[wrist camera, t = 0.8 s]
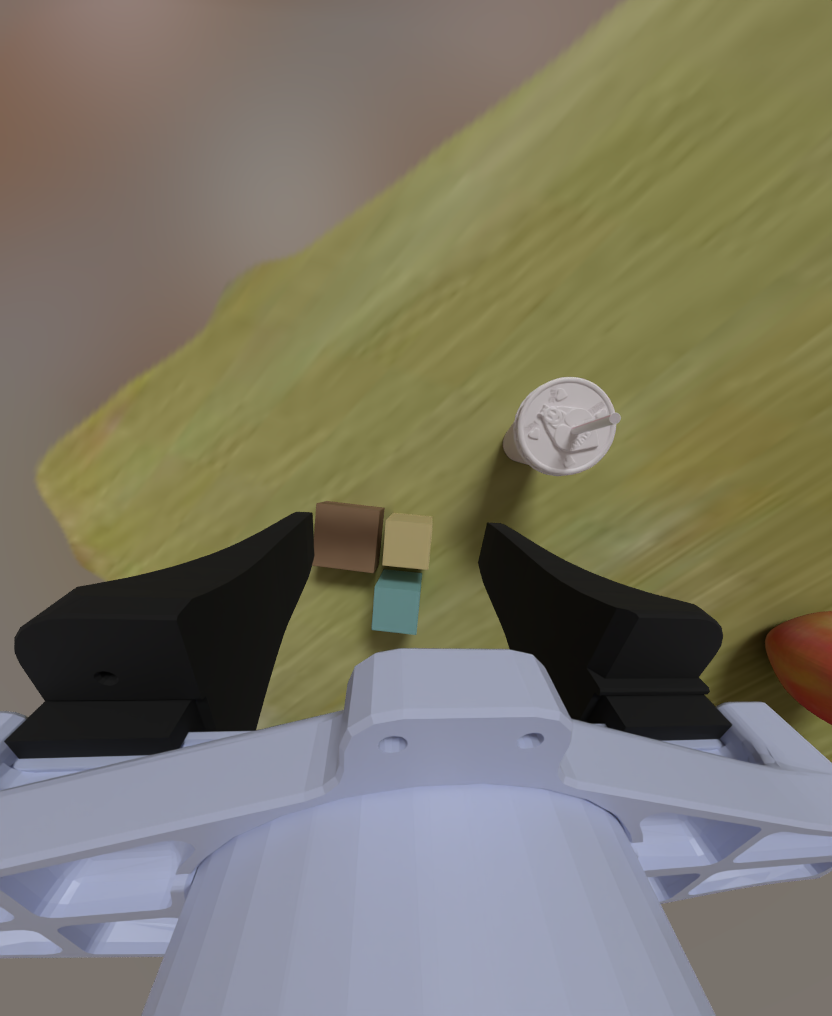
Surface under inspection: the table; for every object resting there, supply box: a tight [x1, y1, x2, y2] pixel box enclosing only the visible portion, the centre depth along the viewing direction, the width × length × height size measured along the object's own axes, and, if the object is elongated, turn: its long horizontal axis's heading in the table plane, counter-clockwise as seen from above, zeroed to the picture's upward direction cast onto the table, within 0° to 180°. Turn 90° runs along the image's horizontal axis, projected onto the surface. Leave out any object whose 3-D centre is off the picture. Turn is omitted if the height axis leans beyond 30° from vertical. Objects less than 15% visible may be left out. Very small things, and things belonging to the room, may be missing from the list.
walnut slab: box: [312, 501, 384, 573], centre depth 30 cm, size 6×6×3 cm
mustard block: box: [382, 513, 433, 570], centre depth 28 cm, size 4×4×5 cm
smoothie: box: [503, 377, 621, 476], centre depth 22 cm, size 6×6×14 cm
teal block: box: [372, 569, 422, 635], centre depth 29 cm, size 4×4×5 cm
